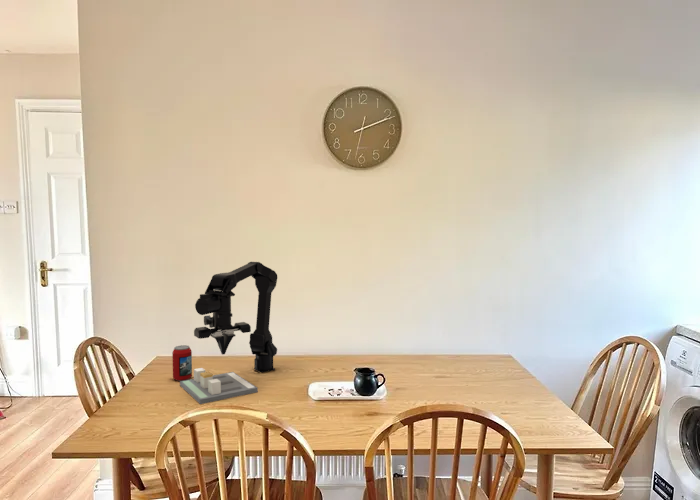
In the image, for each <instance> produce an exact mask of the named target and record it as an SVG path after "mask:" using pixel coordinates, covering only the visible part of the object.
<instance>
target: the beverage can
mask: <svg viewBox="0 0 700 500" xmlns="http://www.w3.org/2000/svg"><path fill="white" fill-rule="evenodd" d="M190 347H191V346H190V345H187V344H186V345H184V344H183V345H182V344H181V345H176V346H175V347H174V348H173V350H172V379H174V380H175V381H177V382H180V381H185V380H190V379H192V377H193V365H192V364H193V362H192V361H193V360H192V359H193V357H192V355H193V354H192V353H193V351H192V349H191V348H190Z"/></svg>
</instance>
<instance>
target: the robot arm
mask: <svg viewBox="0 0 700 500" xmlns="http://www.w3.org/2000/svg"><path fill="white" fill-rule="evenodd" d="M250 277H251V278H252V279H254V283H255V284H254V285H255V287H256V289H257V292H258V295H257V296H258V299H257V311H256V312H257V313H256V322H255V329H254V331H253V332H252V331H251V329H252V327H251V325H250V323H248V322H245V321H241V322H235V323H234V325H232V317H233V313H232V297H234V296H235V295H236V294H235V293H234V292H233V291H232V290H233V289H235V288H236V287H237V285H238V283H239V282H241V281H243V280H245V279H248V278H250ZM277 282H278V273H276V271H275V269H274V270H273V269H272V268H269V267H267V266H266V265H264V264H263V263H261V262H260V261H249V262H247V263H246V264H244V265H242V266H240V267H238V268H235V269H233V270H232V271H228V272H220V273H216V274H213V275H212V277H211V279H210V281H209V283H208V286H207V288H206V289H205V291H204V293H201V294H199V298H197V300H196V302H195V304H194V307H195V310H196V312H197V314H198V315H201V316H203V325H204V326H199V327H195V328H194V330H193V336H194V337H195V338H197V339H200V340H201V339H208V338H210V337H211V338H214V339H215V341H216V343H217V345H218V348H219V351H220V353H221V355H225V354H226V352H227V349H228V347H229V345H230V344H231V341H232V340H233V338H234V337H236V334H235V332H237V331H240V332H241V333H243V334H245V333H250V334H249V342H248V344H249V347H250V350H251V354H252V355H255V358H254V361H253V362H254V363H253V365H254V367H253V370H255V371H257V372H258V373H268V372H271V371H275V370H276V368H274V357H275V356H276V355H277V352H278V347H276V345H275V344H274V343H273V335H272V333H271V331H270V329H269V328H270V320H271V319H270V317H271V316H270V315H271V303H272V293H273V291H274V290H275V288H276V286H277V284H278V283H277ZM209 314H212V317H211V315H209ZM251 332H252V333H251Z"/></svg>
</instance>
